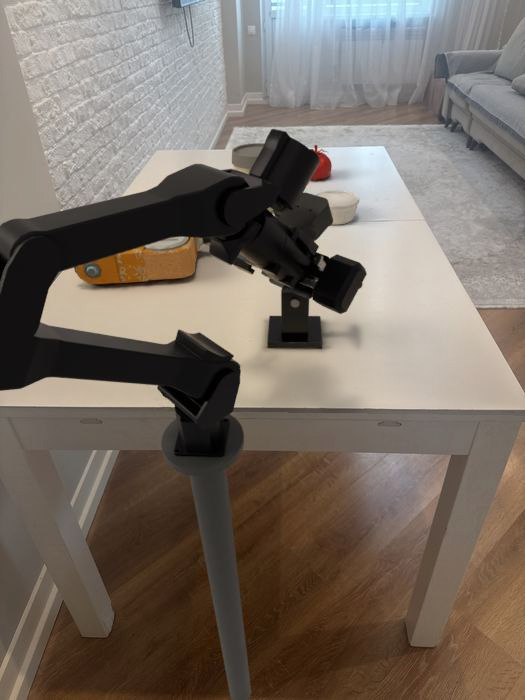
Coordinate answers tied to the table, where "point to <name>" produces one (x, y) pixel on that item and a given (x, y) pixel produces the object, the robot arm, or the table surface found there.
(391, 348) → the table surface
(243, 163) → the reusable coffee cup
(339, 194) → the ramekin
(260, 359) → the table surface
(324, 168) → the red tomato
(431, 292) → the table surface
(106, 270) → the device
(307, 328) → the bracket
